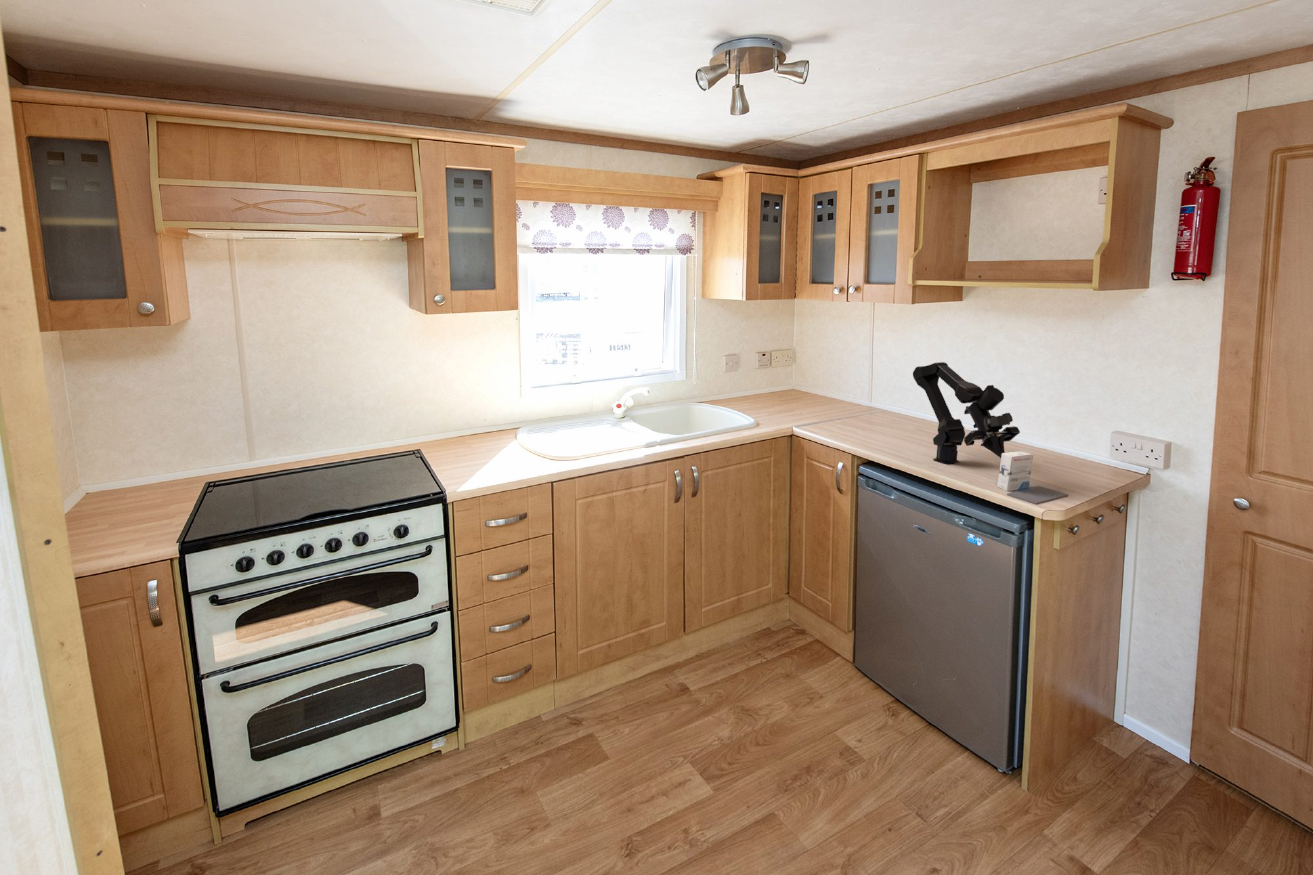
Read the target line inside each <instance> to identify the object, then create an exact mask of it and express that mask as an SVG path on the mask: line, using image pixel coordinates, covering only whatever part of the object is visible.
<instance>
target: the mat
mask: <svg viewBox="0 0 1313 875" xmlns="http://www.w3.org/2000/svg"><path fill="white" fill-rule="evenodd" d="M1006 496H1009V497H1012V498H1015V499H1019V500H1020V501H1021V500H1022V501H1025V502H1028V503H1031V504H1034V505H1038V504H1042V503H1046V502H1050V501H1053V500H1058V499H1061V498H1064V497H1068V496H1069V494H1067V493H1065V492H1062V491H1057V490H1054V489H1051V488H1047V487H1044V486H1041V485H1037V486H1033V487H1029V488H1028V489H1021V490H1015V491H1011V492H1009V493H1006Z"/></svg>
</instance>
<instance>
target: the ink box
mask: <svg viewBox="0 0 1313 875" xmlns="http://www.w3.org/2000/svg"><path fill="white" fill-rule="evenodd" d="M1033 461H1034V454H1032V453H1030V452H1028V451H1027V452H1026V451H1025V450H1018V451H1010V452H1009V451H1008V452H1005V453H1002V456H1001V458H1000V465H999V472H998V479H997V487H998V488H1000V489H1001V490H1004V491H1006V492H1014V491H1020V490H1024V489H1028V488H1030V483H1031V474H1032V467H1033Z"/></svg>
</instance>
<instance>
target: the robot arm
mask: <svg viewBox="0 0 1313 875" xmlns="http://www.w3.org/2000/svg"><path fill="white" fill-rule="evenodd" d="M912 377H913V379H914V381H915V383H916V384H917V386H918V387H920V388H922V390H924V392H925V394H926V397H927V399H928V400H929V403H930V406H931V408H932V410H933V412H934V415H935V417H936V419H937V421H938V422H937V423H938V425H937V434H936V435H935V436H934V437H933V438H932V440H933V441H932V442H933V445H934V446H936V456H935V457H934V458H932V460H933V461H935V462H939V463H942V464H945V465H949V464H955V463H959V460H958V452H959V451H958V446H962V444H963V442H964V444H965V445H966V446H968V447H969V446H974V445H975V441H979V440H981V444H980V447H983V448H985V449H987V450H988V451H990V452H992V453H993V454H994V455H996V456H997V457H999V458H1000V459H1001V456H1002V453H1006V452H1005V443H1007V442H1010V441H1012V440H1013V439H1014V438H1015V437H1016V436H1018V435H1019V434H1020V433H1021V431H1020V429H1019V428H1018V426H1015V425H1014V426H1010V425H1011V423H1012V422H1013V421H1014V419H1013V416H1012V414H1011V413H1010V412H1005V413H1002V414H1001V415H992V414H991V412H990V411H993V410H994V409H995V408H996V407H997V406H999V404H1000V403H1001V402H1002V401H1003V400H1004V399H1005V395H1004V393H1003V392H1002V391H1001V390H1000V389H999V388H997V387H994V385H993V384H991V385H987V386H986V387H985V388H984V389H982V387H980V386H979V385H977V384H975V383H972V382H969V381H967V380H965V379H964V378H963V377H961V376H960V375H959V374H958V373H957V372H956V371H954V370H953V369H952V368H951V367H950V366H949V365H948V363H947V362H945V361H940V362H933V363H931V364H928V365H922V366H916V367H915V368H914V370H913V371H912ZM939 379H940V380H942V381H943V382H944V383H945V384H946V385H948V387H950V388H951V389H952V390H953V392H954V396H955V397H956V399H957V400H958V401H959V403H961V404H969V405H967V406H965V409H964V412H963V414H964V415H970V417H971V419H972V421H973V423H974V424H973V425H972V427H973V429H975V430H971V431H970V432H969V433H967V435H966V431H965V429H966V428H965V426H964V425H963V422H962V420H961V419H960V418H956V419H955V418H954V417H953V415H952V413H951V411H950V409H949V406H948V404H947V402H946V399H945V397H944V395H943V393H942V391H941V388H940V386H939ZM1004 426H1006V427H1005V428H1004ZM1003 428H1004V429H1003ZM1002 429H1003V430H1002ZM1000 430H1001V431H1000Z"/></svg>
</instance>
